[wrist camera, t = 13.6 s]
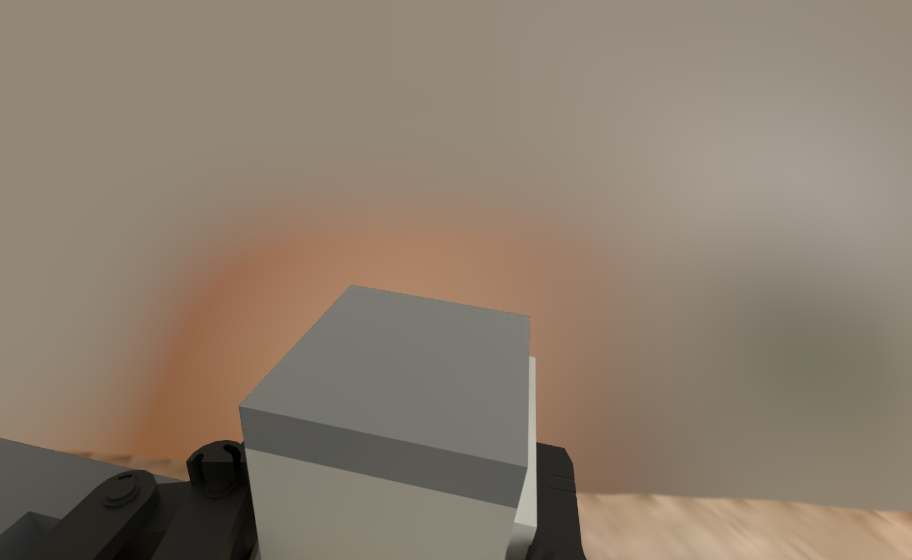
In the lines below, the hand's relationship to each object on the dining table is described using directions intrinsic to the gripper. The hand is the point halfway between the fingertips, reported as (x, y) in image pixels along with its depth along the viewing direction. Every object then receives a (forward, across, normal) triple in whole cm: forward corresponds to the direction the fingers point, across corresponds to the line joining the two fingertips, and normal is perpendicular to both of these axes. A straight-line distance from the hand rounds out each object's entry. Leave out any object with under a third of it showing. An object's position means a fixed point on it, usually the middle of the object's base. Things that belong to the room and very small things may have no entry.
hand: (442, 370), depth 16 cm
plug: (-5, 0, -10) cm, 11 cm away
